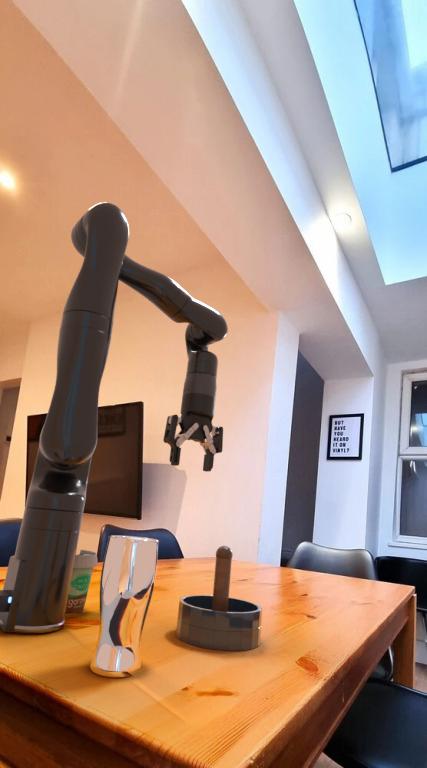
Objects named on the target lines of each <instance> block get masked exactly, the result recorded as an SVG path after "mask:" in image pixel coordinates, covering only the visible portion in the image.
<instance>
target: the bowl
mask: <svg viewBox="0 0 427 768" xmlns="http://www.w3.org/2000/svg"><path fill="white" fill-rule="evenodd" d="M212 599H213V594H192V595H184V596H182V597H179V603H178V612H177V620H176V631H175V636H176V637H177V638H178V640H180V641H182V642H183V643H185V644H189V645H191V646H195V647H197V648H203V649H208V650H215V651H224V652H225V651H228V652H242V651H248V650H253V649H256V648H258V647H259V646H260V644H261V637H262V636H261V634H262V619H263V618H262V615H263V608H262V607H261V605H259V604H257V603H255V602H252V601H249V600H245V599H241V598H235V597H230V596H229V601H228V612H224V611H214V610H212Z"/></svg>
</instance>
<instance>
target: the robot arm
mask: <svg viewBox="0 0 427 768" xmlns="http://www.w3.org/2000/svg"><path fill="white" fill-rule="evenodd" d="M70 239H71V243H72V245H73V247H74V249H75V250H76V252H77V253H78V254H79V255H81V257H82V258H83V261H82V265H81V267H80V270H79V272H78V274H77V276H76V278H75V280H74V282H73V284H72V287H71V288H70V291H69V294H68V295H67V299H66V301H65V304H64V307H63V310H62V311H63V312H62V314H61V315H62V316H61V319H60V327H59V331H58V340H57V347H56V377H55V385H54V389H53V393H52V397H51V400H50V403H49V408H48V410H47V413H46V417H45V421H44V424H43V426H42V429H41V432H40V435H39V445H38V450H37V454H36V458H35V463H34V468H33V473H32V477H31V480H30V484H29V488H28V491H27V497H26V502H25V507H24V509H23V510H24V511H23V516H22V520H21V525H20V529H19V534H18V538H17V542H16V548H15V552H14V555H11V556H10V557H9V561H8V565H7V571H6V574H5V579H4V584H3V588H2V589H0V629H1V630H2V631H3V632H4V633H19V634H20V633H21V634H45V633H51V632H56V631H59V630H61V629H63V628H64V626H65V622H66V619H65V618H66V617H65V616H66V615H67V614H66V606H67V602H68V603H69V598H70V595H69V590H70V584H71V578H72V573H73V567H74V561H75V556H76V555H77V551H78V544H79V539H80V538H79V537H80V532H81V528H82V521H83V516H84V511H85V506H86V505H85V504H86V500H87V488H88V482H89V475H90V469H91V465H92V464H91V463H92V458H93V454H94V453H95V450H96V449H97V444H98V419H99V418H98V415H99V398H100V397H99V396H100V388H101V383H102V379H103V376H104V372H105V370H106V364H107V361H108V357H109V352H110V348H111V343H112V335H113V327H114V318H115V310H116V305H117V304H116V303H117V296H118V289H119V282H122V284H124V285H126V286H128V288H130V289H132V290H134V291H135V292H136V293H138V294H139V295H141V296H143V297H144V298H145V299H146V300H148V301H149V302H150V303H151V304H153V305H154V306H155V307H156V308H157V309H158V310H160V311H161V312H162V313H163V314H164V315H165V316H167V317H168V319H170V320H171V321H172V322H174V323H176V324H187V326H186V329H185V332H184V341H185V349H186V355H187V366H186V372H185V373H186V374H185V378H184V382H183V383H184V384H183V389H182V397H181V398H182V399H181V405H180V416H179V415H178V414H172V415H168V416H167V418H166V424H165V429H164V433H163V434H164V435H163V440H162V441H163V443H164V444H167V445H169V446H170V453H169V463H170V465H171V466H173V467H178V466H180V461H181V451H182V447H181V446H182V445H183V444H184V442H186V441H193V442H196V443H199V445H200V446H201V447H202V449H203V451H204V453H205V454H204V455H203V463H202V471H203V472H205V473H206V472H207V473H208V472H211V471H212V469H213V468H214V460H215V455H216V454H219V453H220V454H221V453H222V452H223V448H224V447H223V446H224V445H223V443H224V427H223V426H215V425H213V419H214V417H215V409H216V408H215V407H216V400H217V399H216V398H217V377H218V365H219V360H218V356H217V354H215V353H214V352H212V351H209V346H210V345H213V344H217V343H218V342H220V341H222V340H224V339H225V338H226V337H227V335H228V332H229V328H228V323H227V321H226V319H225V318H224V316H223V315H222V314H221V313H220V312H219V311H217V310H216V309H214V308H213V307H211V306H209V305H208V304H206V303H204V302H202V301H200V300H198V299H196V298H194V297H193V296H192V295H190V293H189V292H188V291H186V289H184V288H183V287H182V286H181V285H180V284H179V283H178V282H177V281H175V280H174V279H172V278H171V277H169V276H168V275H166V274H164V273H162V272H160V271H158V270H155V269H152V268H150V267H148V266H145V265H143V264H141V263H139V262H137V261H135V260H134V259H132V258H131V257H130V256H128V255H127V254H126V251H127V247H128V244H129V240H130V225H129V222H128V219H127V216H126V215H125V213H124V212H123V210H122V209H121V208H120V207H118V206H117V205H116V204H114V203H111V202H106V201H105V202H99V203H97V204H95V205H93V206H91V207H90V208H89V209H88V210H87V211H86V212H85V213H84V214H83V215H82V216H81V217H80V218H79V219H78V221H76V223H74V225H73V227H72V228H71V231H70ZM178 426H179V427H180V430H179V431H178V432H177V427H178ZM176 432H177V433H176Z"/></svg>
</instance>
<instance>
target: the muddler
mask: <svg viewBox="0 0 427 768" xmlns="http://www.w3.org/2000/svg"><path fill="white" fill-rule="evenodd" d="M233 555H234V553H233V550H232V548H230V547H229V546H227V545H221V546H219V547H218V548H217V549H216V552H215V563H214V564H215V566H214V578H213V589H212V590H213V591H212V596H213V599H212V610H214V611H224V612H228V601H229V597H230V588H231V572H232V560H233Z"/></svg>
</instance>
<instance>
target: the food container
mask: <svg viewBox="0 0 427 768" xmlns="http://www.w3.org/2000/svg"><path fill="white" fill-rule="evenodd" d="M98 566H99V565H98V556H97V552H95V551H91V550H85V549H80V552H79V554H76V556H75V561H74V567H73V573H72V578H71V584H70V590H69V595H70V598H69V603H68V602H67V606H66V614H65V615H73V614H83V613H84V610H85V605H86V601H87V597H88V593H89V588H90V584H91V581H92V576H93V572H94V568H96V567H98Z"/></svg>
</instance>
